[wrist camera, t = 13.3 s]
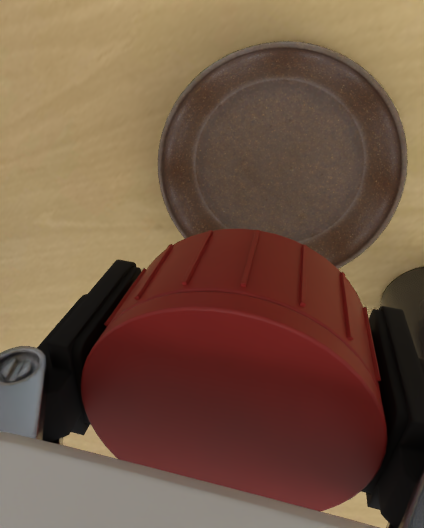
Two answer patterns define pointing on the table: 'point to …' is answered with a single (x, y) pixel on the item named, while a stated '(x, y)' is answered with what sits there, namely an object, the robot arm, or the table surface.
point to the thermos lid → (242, 371)
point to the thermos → (409, 303)
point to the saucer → (285, 150)
